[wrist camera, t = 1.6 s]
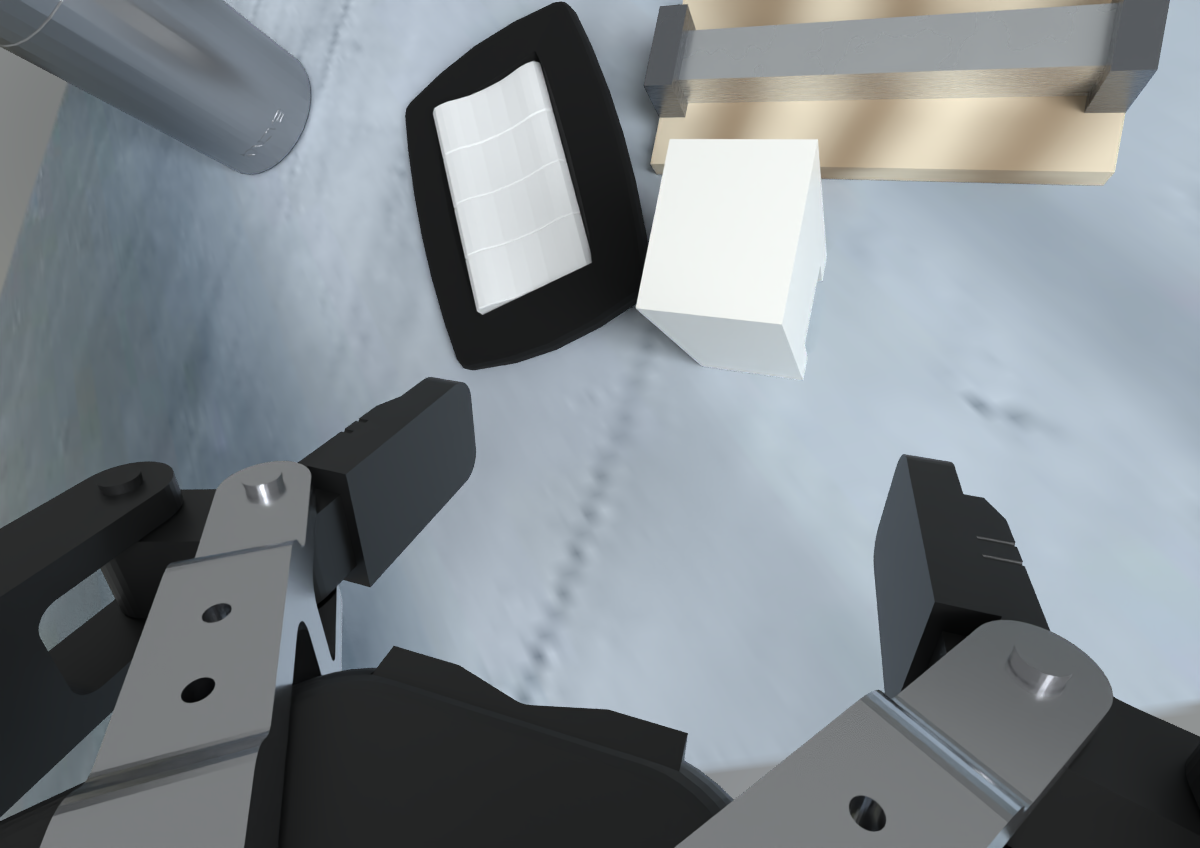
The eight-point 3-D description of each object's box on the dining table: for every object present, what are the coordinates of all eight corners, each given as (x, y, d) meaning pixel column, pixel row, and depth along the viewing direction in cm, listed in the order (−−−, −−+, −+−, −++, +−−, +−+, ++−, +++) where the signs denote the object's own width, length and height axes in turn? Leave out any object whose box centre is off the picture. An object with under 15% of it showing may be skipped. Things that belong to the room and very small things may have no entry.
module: (702, 366, 32) (635, 308, 22) (727, 239, 32) (673, 122, 22) (803, 381, 30) (782, 324, 20) (829, 245, 30) (821, 121, 20)
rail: (659, 117, 33) (643, 85, 30) (674, 44, 33) (660, 6, 30) (1125, 112, 25) (1157, 69, 23) (1142, 18, 26) (1176, -36, 23)
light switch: (380, 94, 40) (563, -39, 34) (412, 117, 42) (588, -3, 37) (439, 385, 36) (658, 290, 30) (471, 391, 39) (678, 305, 33)
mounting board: (656, 174, 34) (650, 163, 33) (688, 14, 34) (683, -2, 33) (1103, 185, 26) (1114, 172, 25) (1140, -19, 27) (1153, -41, 26)
